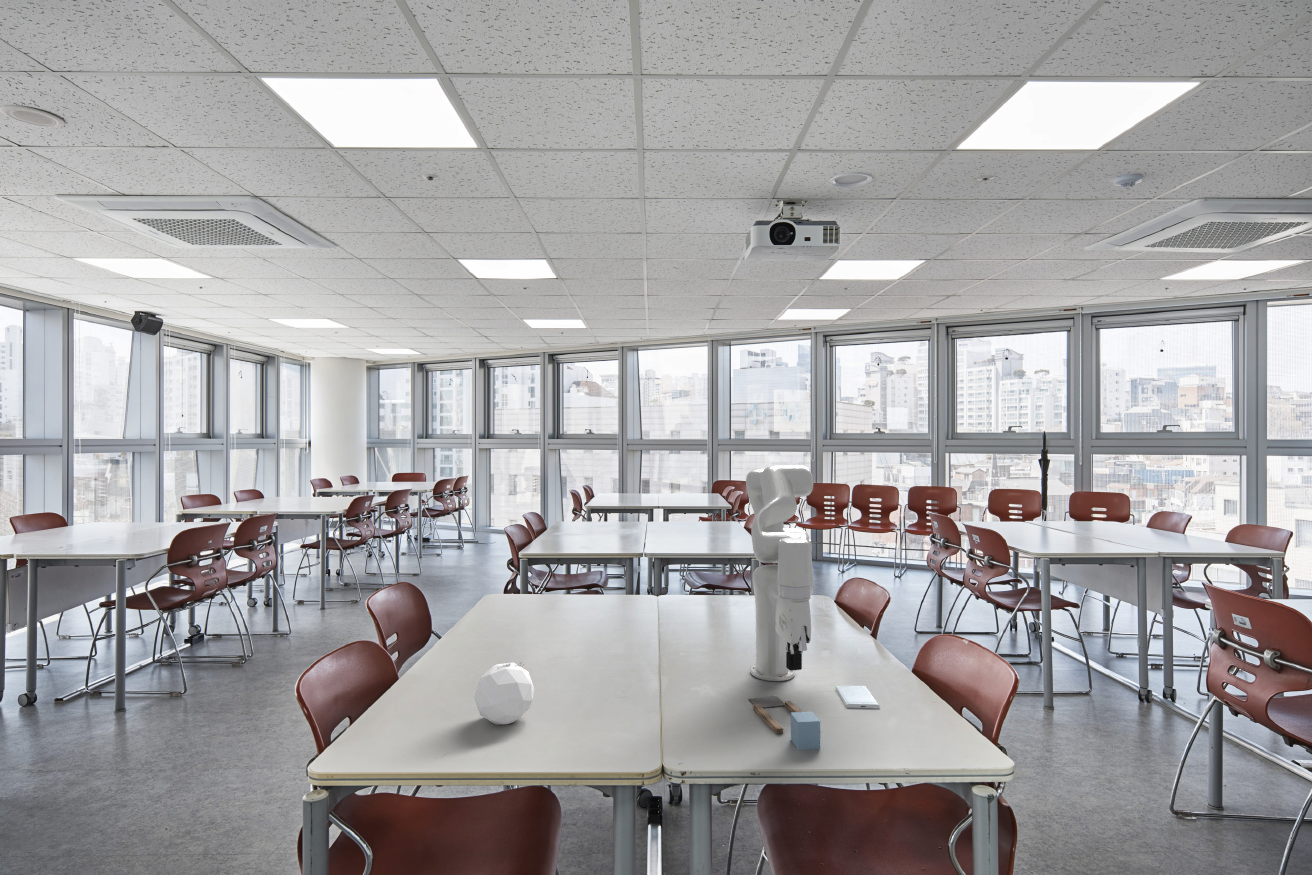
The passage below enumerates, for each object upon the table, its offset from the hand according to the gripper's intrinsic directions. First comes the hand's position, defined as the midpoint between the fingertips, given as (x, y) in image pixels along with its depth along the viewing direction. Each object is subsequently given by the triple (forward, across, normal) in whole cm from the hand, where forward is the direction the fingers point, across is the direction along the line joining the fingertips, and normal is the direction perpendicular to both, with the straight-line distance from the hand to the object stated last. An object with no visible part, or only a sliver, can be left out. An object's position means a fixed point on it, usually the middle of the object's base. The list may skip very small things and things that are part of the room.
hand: (794, 668), depth 144 cm
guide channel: (+14, -8, 0) cm, 16 cm away
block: (+14, +8, -1) cm, 16 cm away
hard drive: (+15, -12, +24) cm, 31 cm away
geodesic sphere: (+14, -20, -66) cm, 71 cm away
